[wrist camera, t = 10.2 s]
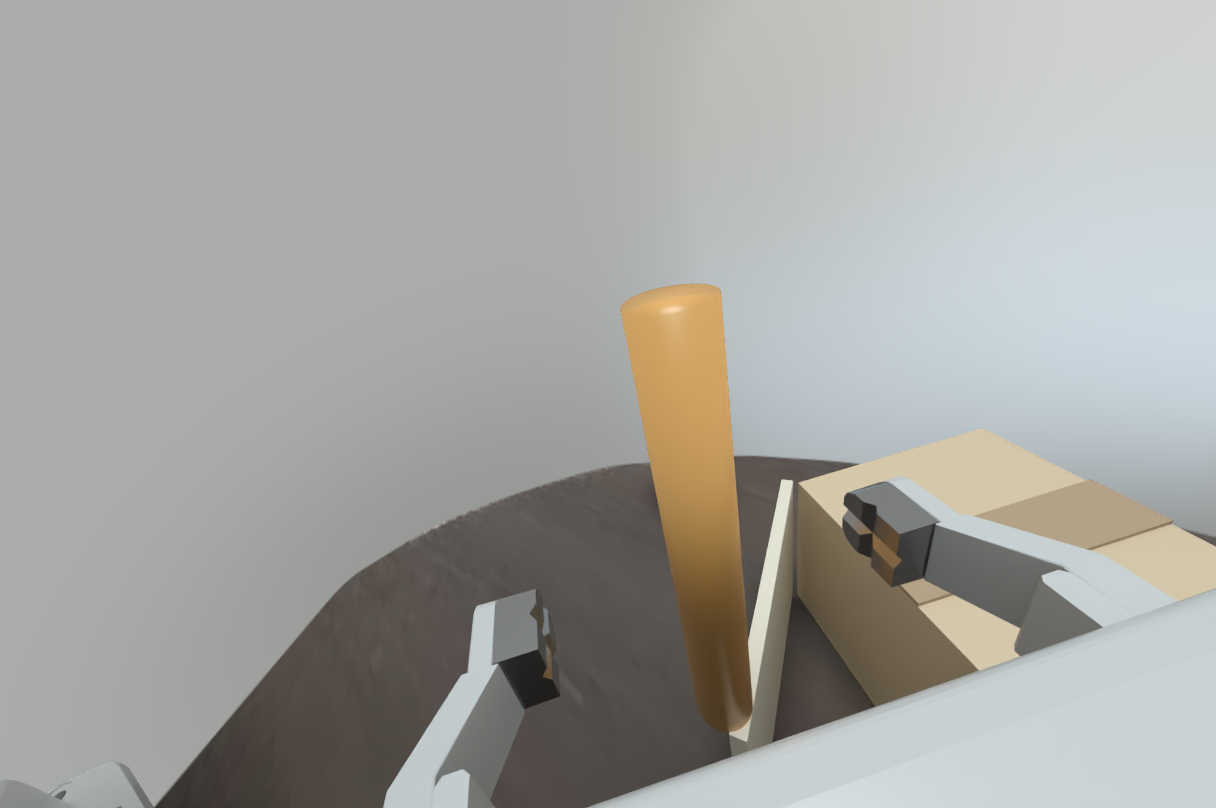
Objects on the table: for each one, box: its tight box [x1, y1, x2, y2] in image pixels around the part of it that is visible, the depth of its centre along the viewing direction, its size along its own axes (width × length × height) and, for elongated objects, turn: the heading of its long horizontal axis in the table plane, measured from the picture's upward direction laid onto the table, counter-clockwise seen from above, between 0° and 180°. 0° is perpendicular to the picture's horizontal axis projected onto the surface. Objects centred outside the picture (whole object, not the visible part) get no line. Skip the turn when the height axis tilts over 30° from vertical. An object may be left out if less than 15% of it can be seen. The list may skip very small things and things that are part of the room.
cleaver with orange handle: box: [620, 284, 793, 757], centre depth 19 cm, size 2×14×25 cm, turn 154°
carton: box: [797, 428, 1216, 707], centre depth 22 cm, size 12×14×10 cm
